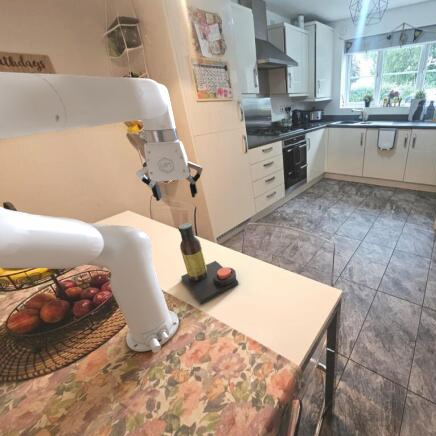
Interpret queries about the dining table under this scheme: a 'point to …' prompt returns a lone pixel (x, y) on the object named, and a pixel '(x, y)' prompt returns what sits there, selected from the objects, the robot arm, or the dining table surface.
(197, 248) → the sauce bottle
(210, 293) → the black flat block
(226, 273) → the button
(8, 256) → the robot arm
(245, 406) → the dining table surface
